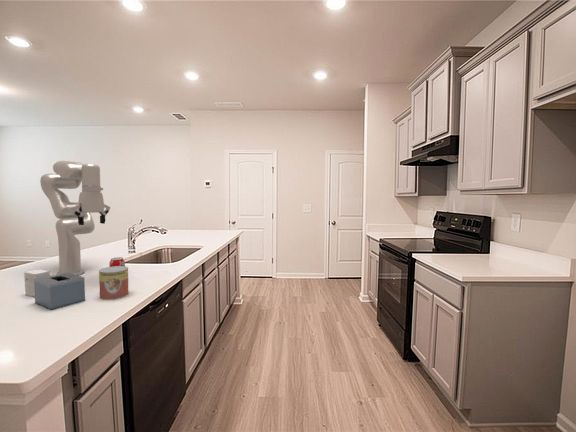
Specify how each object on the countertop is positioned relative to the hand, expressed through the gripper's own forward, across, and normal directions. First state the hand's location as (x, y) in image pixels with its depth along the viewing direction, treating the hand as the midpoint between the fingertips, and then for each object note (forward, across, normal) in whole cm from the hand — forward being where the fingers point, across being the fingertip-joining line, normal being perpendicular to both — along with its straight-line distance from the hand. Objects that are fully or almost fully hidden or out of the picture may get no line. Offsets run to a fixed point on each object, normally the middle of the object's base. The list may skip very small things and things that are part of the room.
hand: (92, 224), depth 142 cm
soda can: (+31, -9, +5) cm, 32 cm away
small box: (+31, +21, -4) cm, 37 cm away
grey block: (+30, +20, +14) cm, 39 cm away
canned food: (+31, +4, +24) cm, 39 cm away
